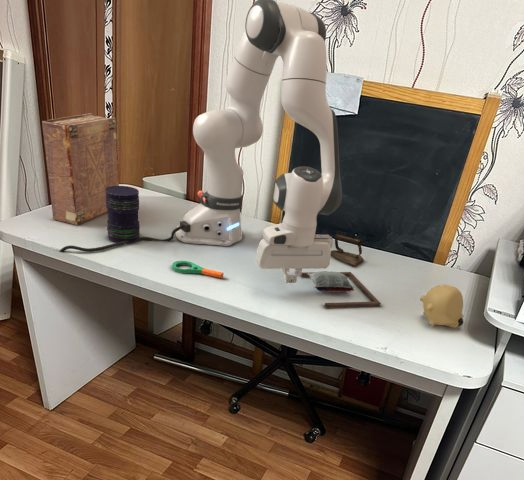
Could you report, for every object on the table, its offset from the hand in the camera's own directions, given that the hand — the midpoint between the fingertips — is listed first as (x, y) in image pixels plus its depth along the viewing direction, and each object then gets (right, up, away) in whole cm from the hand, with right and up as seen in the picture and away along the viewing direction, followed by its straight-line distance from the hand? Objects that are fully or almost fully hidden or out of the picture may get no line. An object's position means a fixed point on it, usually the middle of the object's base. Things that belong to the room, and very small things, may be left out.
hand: (289, 282), depth 137 cm
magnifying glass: (-26, +3, +5) cm, 27 cm away
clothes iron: (+19, +11, +26) cm, 35 cm away
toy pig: (+39, -12, -4) cm, 41 cm away
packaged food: (+12, -1, +6) cm, 13 cm away
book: (-68, +29, +36) cm, 82 cm away
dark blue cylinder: (-51, +16, +20) cm, 58 cm away
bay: (+14, -2, +6) cm, 15 cm away
